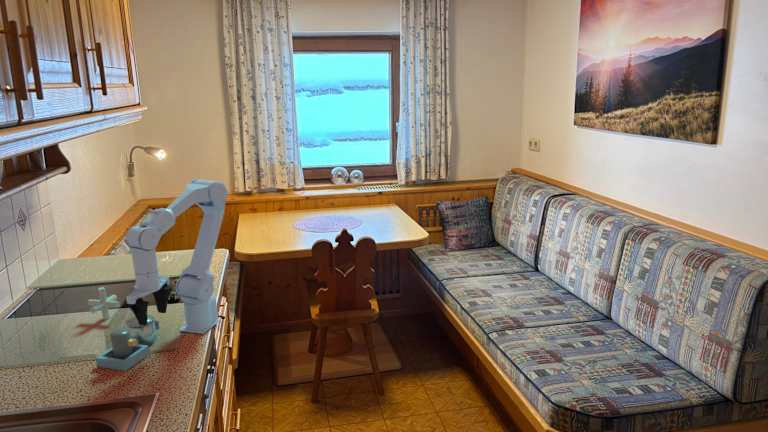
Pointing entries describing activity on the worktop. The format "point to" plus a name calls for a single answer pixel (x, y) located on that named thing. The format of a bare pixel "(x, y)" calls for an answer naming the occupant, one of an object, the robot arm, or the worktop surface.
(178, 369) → the worktop surface
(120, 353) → the dark grey rounded cylinder
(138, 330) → the motor
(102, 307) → the pipe connector
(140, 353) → the light blue shallow tray
